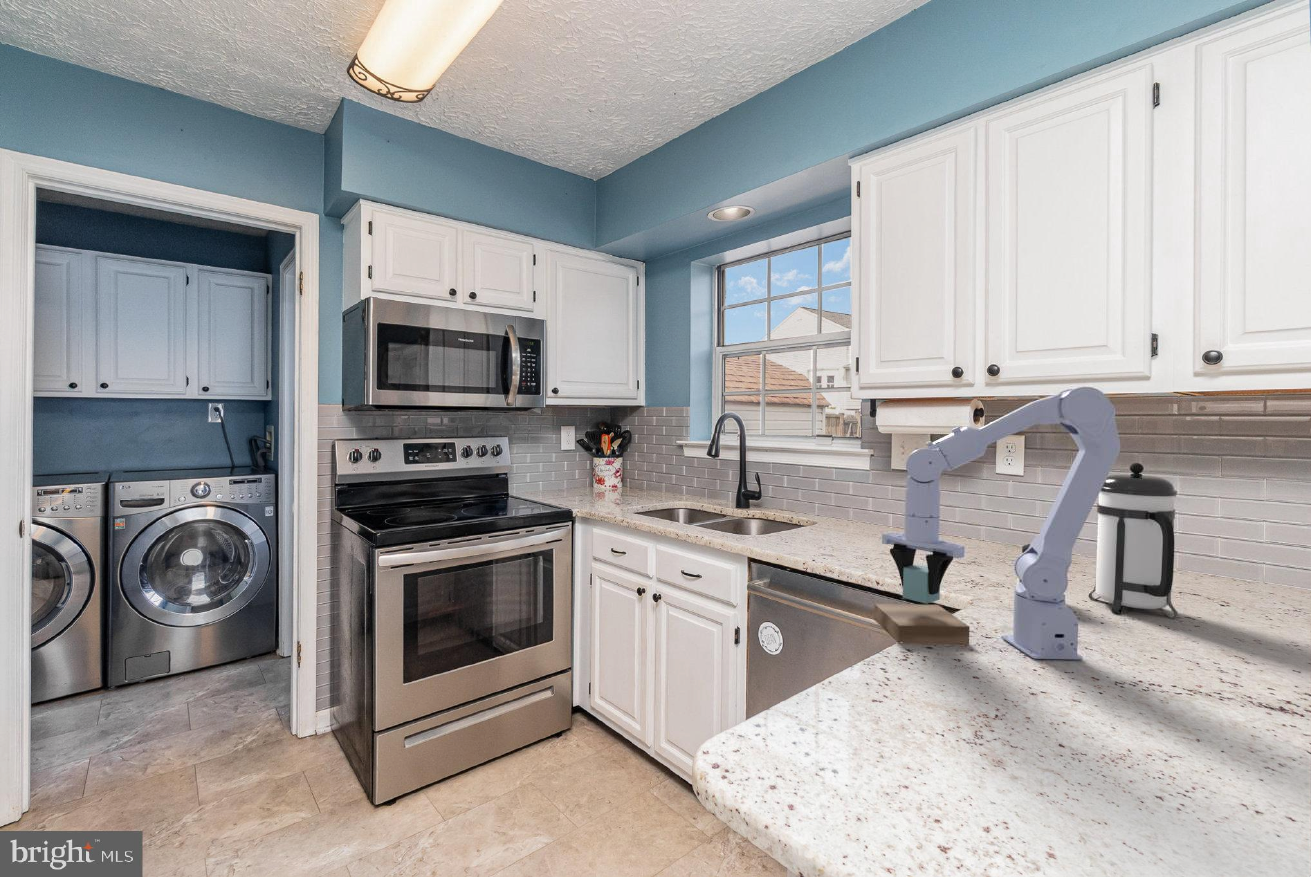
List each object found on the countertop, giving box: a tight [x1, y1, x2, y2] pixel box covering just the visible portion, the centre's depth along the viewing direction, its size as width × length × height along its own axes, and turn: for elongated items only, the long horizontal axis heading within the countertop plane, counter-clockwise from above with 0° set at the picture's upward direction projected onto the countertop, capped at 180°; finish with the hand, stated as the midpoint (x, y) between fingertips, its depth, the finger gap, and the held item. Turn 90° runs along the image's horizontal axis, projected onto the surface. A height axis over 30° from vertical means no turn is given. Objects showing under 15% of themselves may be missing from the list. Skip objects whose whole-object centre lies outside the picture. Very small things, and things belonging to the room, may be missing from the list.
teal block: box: [902, 564, 941, 605], centre depth 109 cm, size 4×4×6 cm
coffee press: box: [1088, 462, 1179, 619], centre depth 122 cm, size 17×16×30 cm
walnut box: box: [873, 603, 970, 645], centre depth 109 cm, size 12×12×4 cm
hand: (919, 590), depth 109 cm, fingers closed on teal block, 4 cm apart
